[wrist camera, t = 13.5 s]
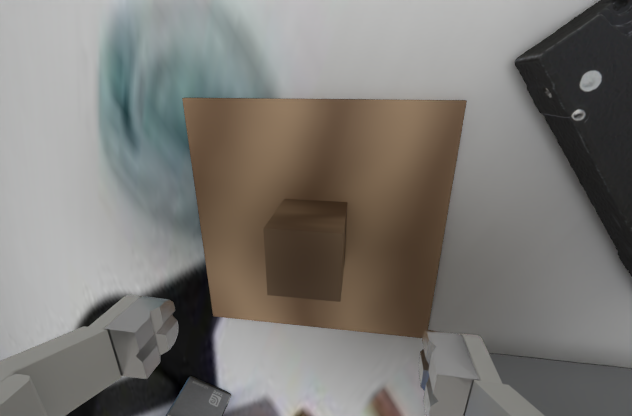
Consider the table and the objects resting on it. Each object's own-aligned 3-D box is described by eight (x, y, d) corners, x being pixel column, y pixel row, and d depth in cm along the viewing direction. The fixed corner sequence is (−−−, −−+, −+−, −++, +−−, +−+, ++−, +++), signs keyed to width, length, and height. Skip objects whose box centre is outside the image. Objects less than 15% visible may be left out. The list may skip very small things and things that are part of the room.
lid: (460, 99, 15) (503, 104, 11) (423, 327, 20) (441, 397, 16) (192, 97, 17) (128, 100, 12) (219, 306, 22) (181, 364, 17)
